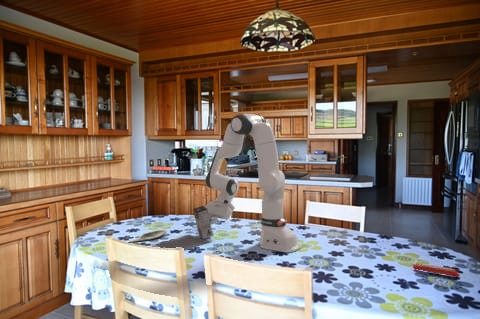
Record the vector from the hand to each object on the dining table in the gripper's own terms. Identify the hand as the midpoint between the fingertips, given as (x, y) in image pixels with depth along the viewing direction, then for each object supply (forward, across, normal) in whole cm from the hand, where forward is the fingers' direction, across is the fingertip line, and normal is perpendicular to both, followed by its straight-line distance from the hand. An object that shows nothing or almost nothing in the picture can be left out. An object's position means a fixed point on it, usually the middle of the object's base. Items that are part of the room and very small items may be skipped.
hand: (210, 222), depth 183 cm
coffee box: (+7, 0, +3) cm, 8 cm away
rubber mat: (+19, 0, -8) cm, 21 cm away
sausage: (-12, +108, +23) cm, 111 cm away
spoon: (+29, -22, -18) cm, 40 cm away
